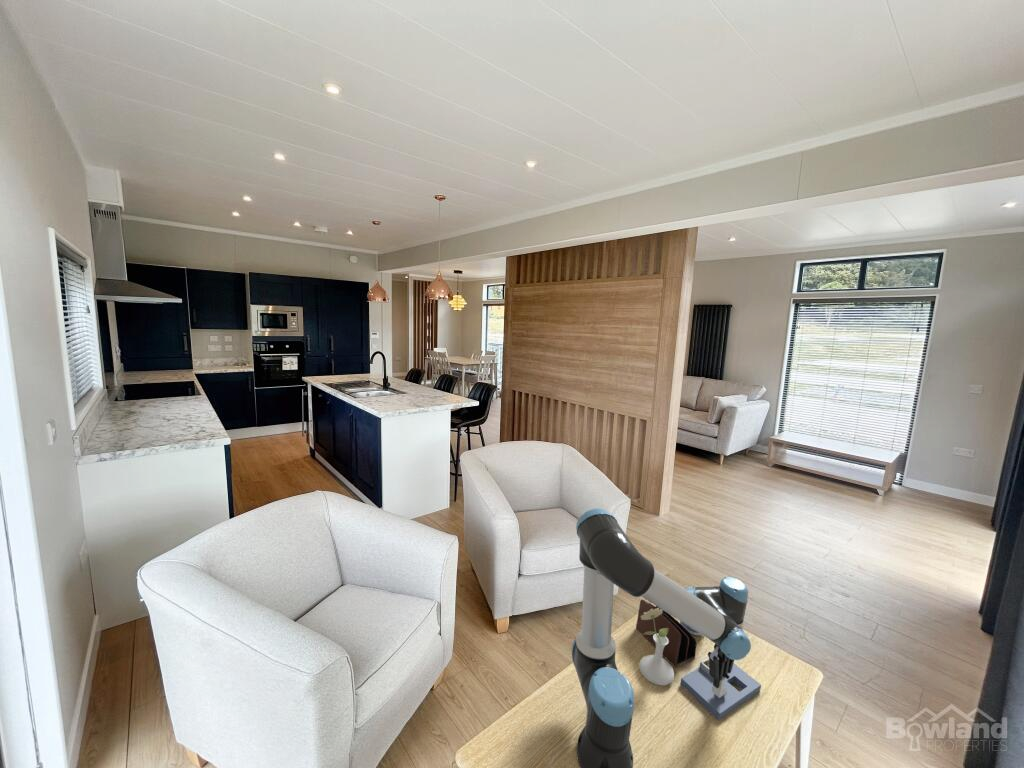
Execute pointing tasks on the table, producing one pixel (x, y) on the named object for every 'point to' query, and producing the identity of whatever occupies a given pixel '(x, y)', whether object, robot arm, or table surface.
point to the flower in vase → (656, 655)
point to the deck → (702, 684)
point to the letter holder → (668, 635)
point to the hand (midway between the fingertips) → (716, 693)
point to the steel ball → (724, 692)
